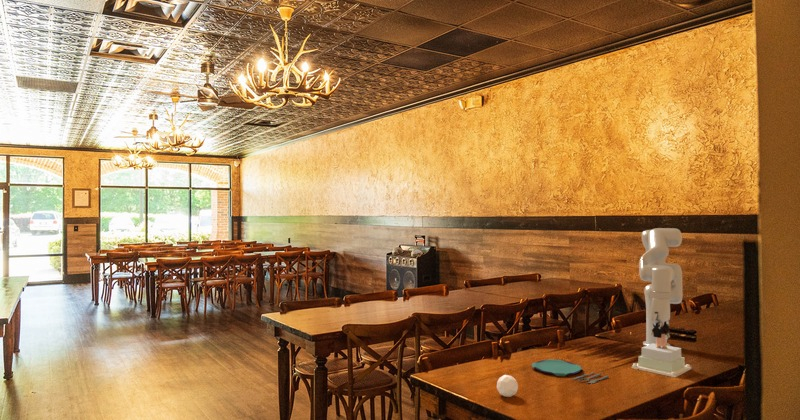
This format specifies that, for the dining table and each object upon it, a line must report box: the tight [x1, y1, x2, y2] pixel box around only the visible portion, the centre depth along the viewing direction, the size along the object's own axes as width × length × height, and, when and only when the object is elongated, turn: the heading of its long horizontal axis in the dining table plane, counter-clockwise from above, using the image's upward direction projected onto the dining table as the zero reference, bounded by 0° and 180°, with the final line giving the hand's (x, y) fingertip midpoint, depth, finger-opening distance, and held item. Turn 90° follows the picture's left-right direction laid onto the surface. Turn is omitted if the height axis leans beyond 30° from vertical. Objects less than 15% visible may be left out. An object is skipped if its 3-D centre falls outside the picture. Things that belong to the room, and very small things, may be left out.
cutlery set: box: [531, 358, 609, 385], centre depth 222 cm, size 20×30×2 cm, turn 36°
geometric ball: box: [496, 374, 519, 398], centre depth 193 cm, size 8×8×8 cm
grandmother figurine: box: [650, 320, 671, 349], centre depth 229 cm, size 8×4×13 cm, turn 67°
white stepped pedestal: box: [631, 343, 692, 378], centre depth 229 cm, size 18×18×9 cm
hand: (661, 335), depth 229 cm, fingers open, 7 cm apart
